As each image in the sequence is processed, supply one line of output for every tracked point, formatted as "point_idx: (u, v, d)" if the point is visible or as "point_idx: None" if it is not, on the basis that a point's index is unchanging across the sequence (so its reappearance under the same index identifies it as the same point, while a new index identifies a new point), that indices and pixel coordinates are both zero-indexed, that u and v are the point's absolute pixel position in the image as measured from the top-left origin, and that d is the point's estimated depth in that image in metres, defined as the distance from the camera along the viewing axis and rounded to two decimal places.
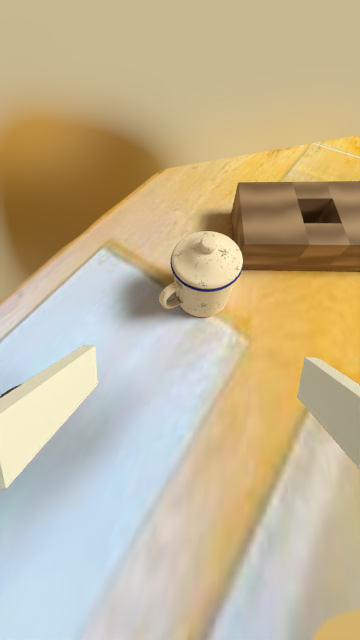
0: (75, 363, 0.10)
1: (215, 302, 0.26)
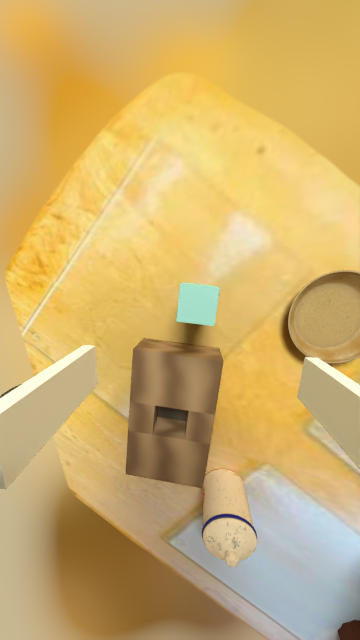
0: (75, 363, 0.10)
1: None
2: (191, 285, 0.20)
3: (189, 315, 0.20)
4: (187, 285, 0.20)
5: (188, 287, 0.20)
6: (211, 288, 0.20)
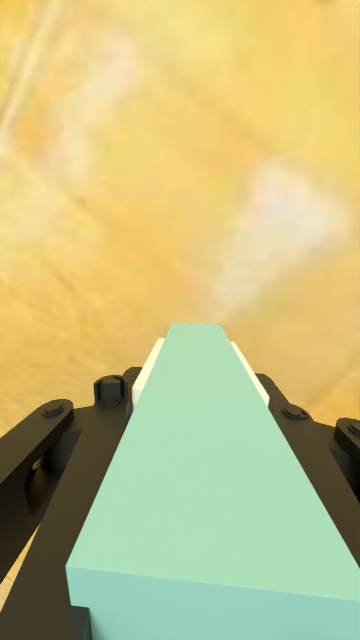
0: None
1: None
2: (150, 580, 0.03)
3: None
4: (120, 580, 0.03)
5: (130, 590, 0.03)
6: (308, 603, 0.02)
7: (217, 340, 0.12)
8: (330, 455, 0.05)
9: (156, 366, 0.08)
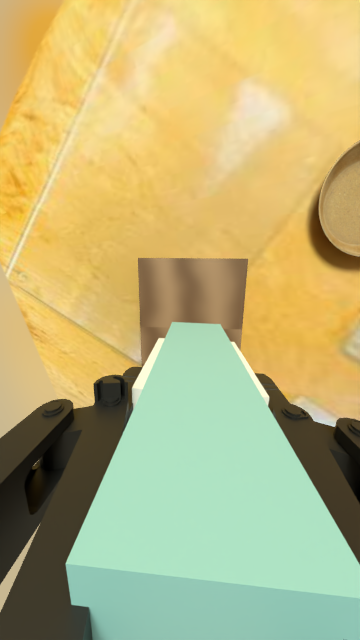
0: None
1: None
2: (150, 578, 0.03)
3: None
4: (120, 578, 0.03)
5: (130, 588, 0.03)
6: (308, 600, 0.02)
7: (217, 340, 0.12)
8: (330, 455, 0.05)
9: (156, 365, 0.08)
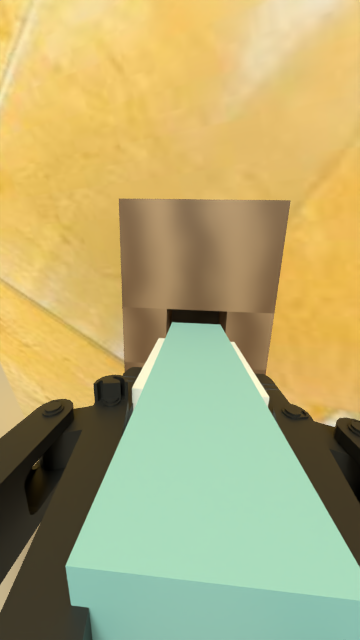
0: None
1: None
2: (150, 580, 0.03)
3: None
4: (120, 580, 0.03)
5: (129, 590, 0.03)
6: (308, 602, 0.02)
7: (217, 340, 0.12)
8: (330, 455, 0.05)
9: (156, 366, 0.08)
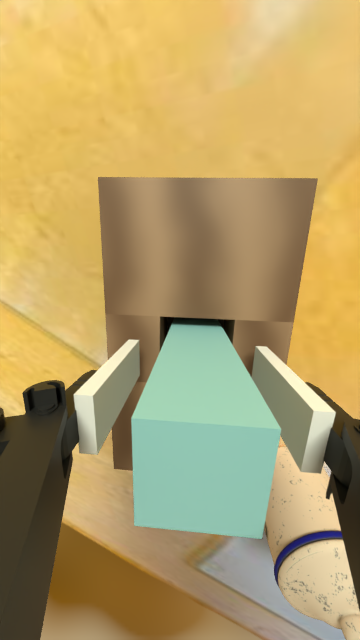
0: (129, 354, 0.12)
1: None
2: (173, 424, 0.05)
3: (176, 509, 0.06)
4: (158, 424, 0.05)
5: (162, 431, 0.05)
6: (248, 432, 0.05)
7: (213, 328, 0.15)
8: None
9: (165, 344, 0.11)
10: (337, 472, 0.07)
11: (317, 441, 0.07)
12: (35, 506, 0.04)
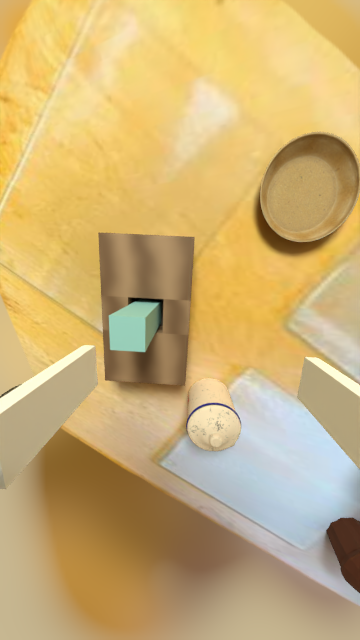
0: (75, 363, 0.10)
1: (233, 405, 0.36)
2: (119, 317, 0.21)
3: (121, 343, 0.22)
4: (115, 317, 0.21)
5: (116, 319, 0.21)
6: (137, 318, 0.21)
7: (153, 303, 0.30)
8: None
9: (126, 306, 0.27)
10: None
11: None
12: None
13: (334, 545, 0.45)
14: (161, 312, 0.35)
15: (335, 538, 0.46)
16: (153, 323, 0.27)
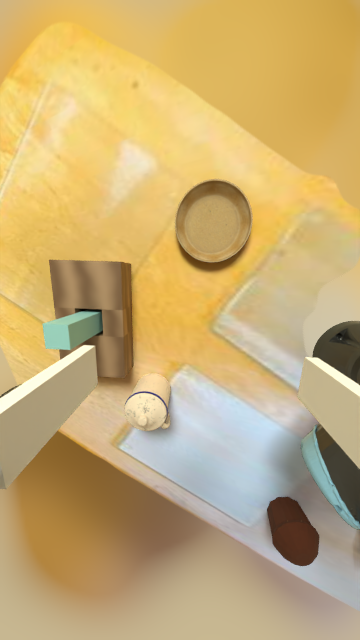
0: (75, 363, 0.10)
1: (167, 394, 0.43)
2: (49, 324, 0.29)
3: (53, 343, 0.30)
4: (47, 325, 0.29)
5: (48, 326, 0.30)
6: (62, 325, 0.29)
7: (94, 312, 0.39)
8: None
9: (67, 316, 0.35)
10: None
11: None
12: None
13: (270, 520, 0.52)
14: None
15: (271, 514, 0.52)
16: (87, 328, 0.35)
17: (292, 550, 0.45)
